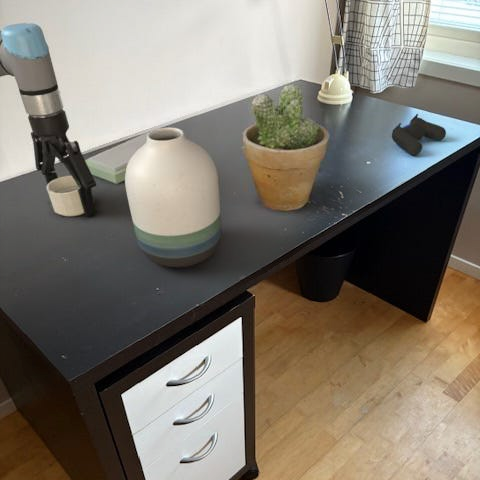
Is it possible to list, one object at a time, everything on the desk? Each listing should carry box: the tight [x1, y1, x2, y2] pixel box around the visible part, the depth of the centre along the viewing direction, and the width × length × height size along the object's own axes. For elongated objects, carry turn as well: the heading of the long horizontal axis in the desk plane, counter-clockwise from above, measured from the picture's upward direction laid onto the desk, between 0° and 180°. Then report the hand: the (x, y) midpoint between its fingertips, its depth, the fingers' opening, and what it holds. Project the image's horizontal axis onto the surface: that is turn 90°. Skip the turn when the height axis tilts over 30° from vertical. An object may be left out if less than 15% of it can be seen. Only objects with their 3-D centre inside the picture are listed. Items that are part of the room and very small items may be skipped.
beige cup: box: [45, 174, 95, 217], centre depth 111 cm, size 9×9×6 cm
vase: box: [124, 127, 222, 268], centre depth 89 cm, size 17×17×24 cm
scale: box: [85, 130, 152, 185], centre depth 131 cm, size 14×26×3 cm, turn 142°
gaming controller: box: [391, 113, 447, 156], centre depth 131 cm, size 17×6×10 cm
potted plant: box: [242, 83, 330, 212], centre depth 104 cm, size 18×19×25 cm
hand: (74, 206), depth 113 cm, fingers open, 12 cm apart
